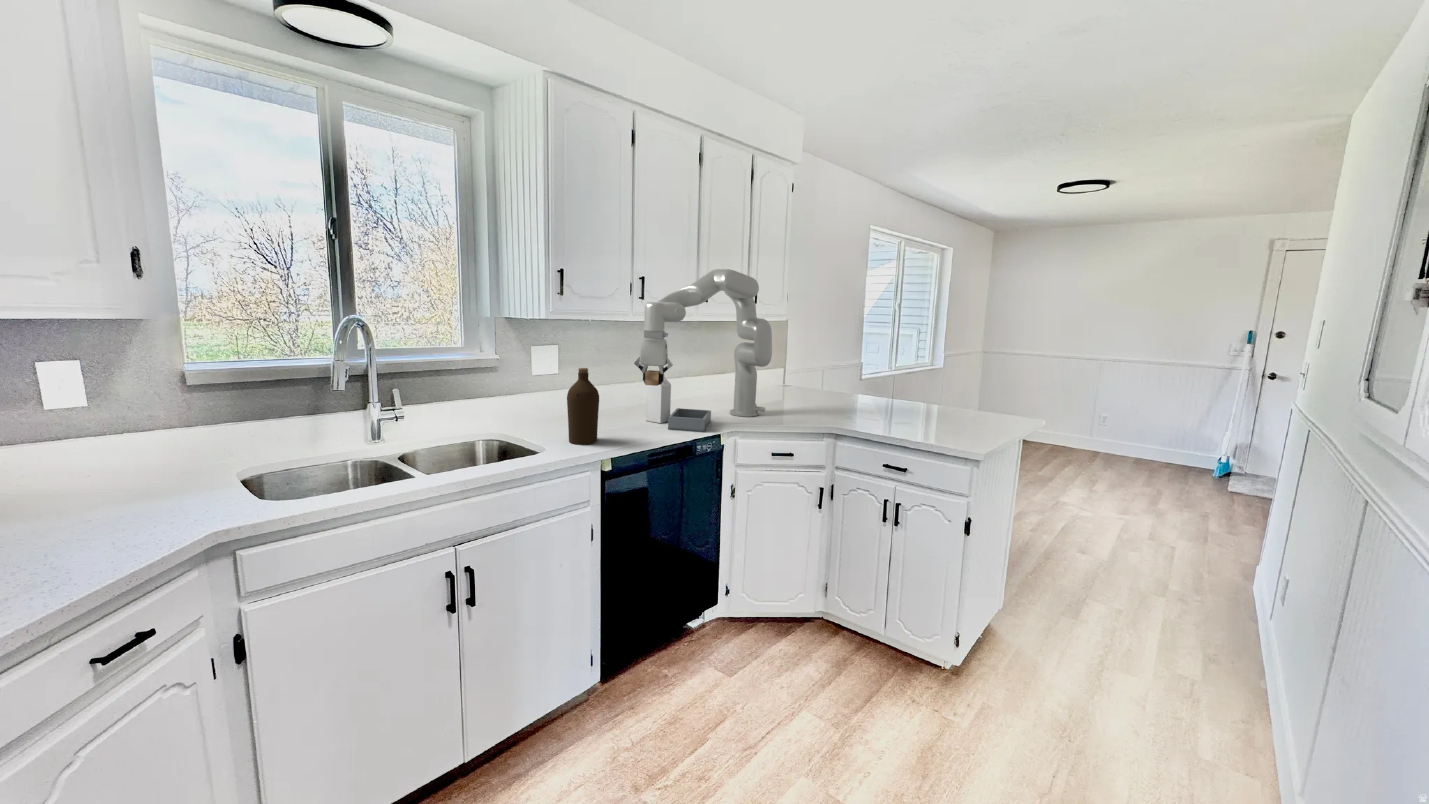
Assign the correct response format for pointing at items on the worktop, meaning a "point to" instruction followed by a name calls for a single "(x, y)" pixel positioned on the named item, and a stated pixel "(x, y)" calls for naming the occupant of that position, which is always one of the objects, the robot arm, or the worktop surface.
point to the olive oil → (583, 410)
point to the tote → (689, 420)
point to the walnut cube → (652, 377)
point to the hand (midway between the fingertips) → (653, 382)
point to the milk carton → (658, 402)
